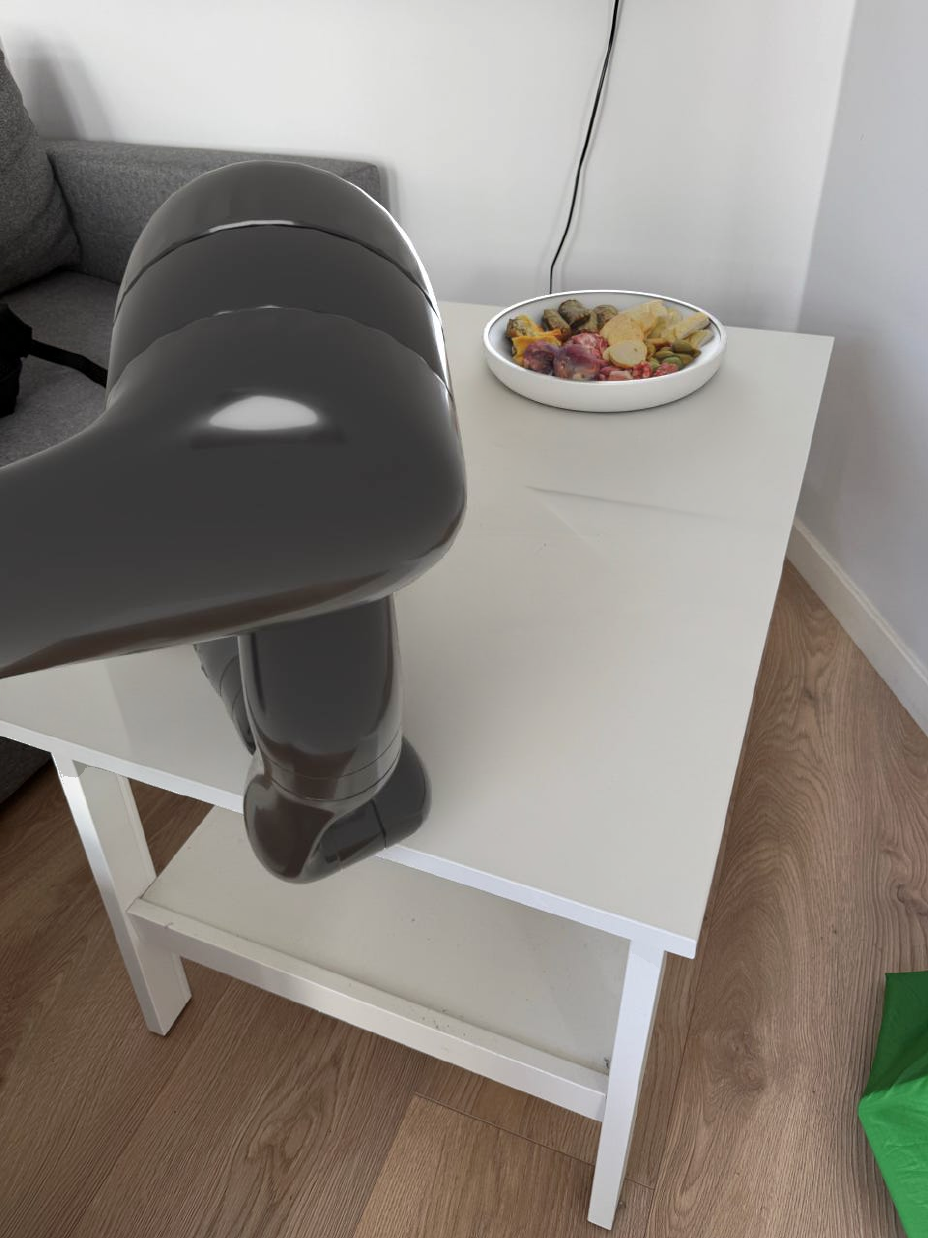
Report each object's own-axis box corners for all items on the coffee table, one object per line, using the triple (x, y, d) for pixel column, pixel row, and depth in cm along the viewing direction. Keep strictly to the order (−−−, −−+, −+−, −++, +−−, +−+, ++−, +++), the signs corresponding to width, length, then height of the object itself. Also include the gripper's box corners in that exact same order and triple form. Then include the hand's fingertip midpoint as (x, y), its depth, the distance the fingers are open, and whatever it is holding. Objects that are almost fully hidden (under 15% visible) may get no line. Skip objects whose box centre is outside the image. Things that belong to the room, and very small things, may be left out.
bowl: (524, 316, 132) (524, 260, 127) (736, 336, 123) (745, 277, 118) (449, 406, 110) (446, 343, 106) (700, 438, 102) (709, 371, 97)
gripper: (341, 565, 64) (268, 466, 75) (134, 631, 59) (90, 514, 70) (353, 647, 68) (283, 542, 80) (163, 714, 63) (117, 592, 75)
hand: (192, 529), depth 75 cm, fingers open, 8 cm apart
